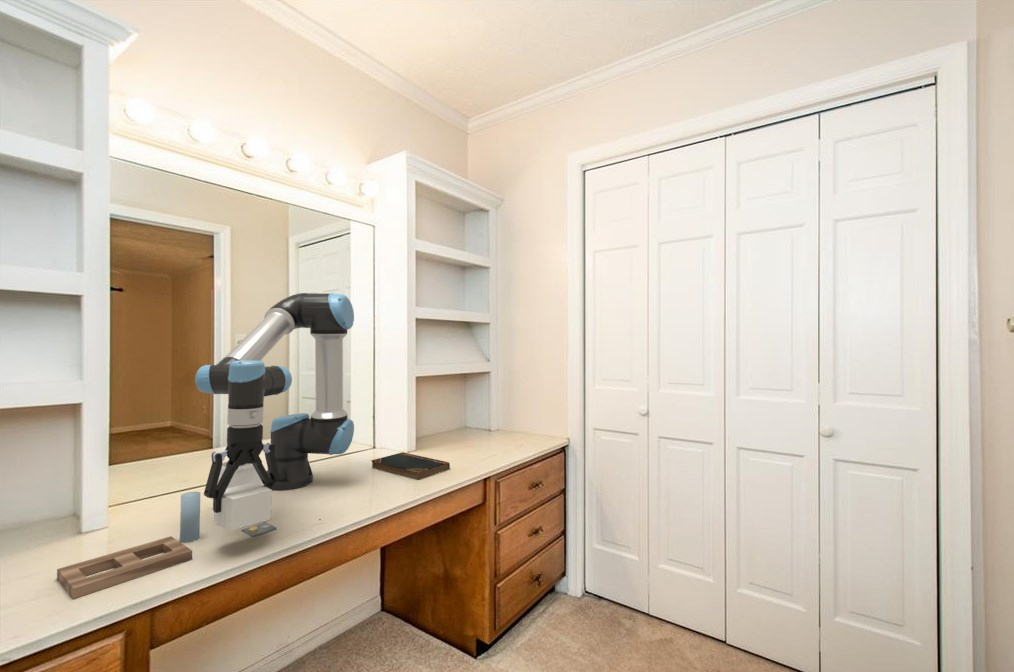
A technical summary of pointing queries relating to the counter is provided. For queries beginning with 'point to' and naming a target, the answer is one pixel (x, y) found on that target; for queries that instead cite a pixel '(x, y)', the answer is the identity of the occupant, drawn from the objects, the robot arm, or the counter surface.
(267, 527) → the tile
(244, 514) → the cover
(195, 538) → the peg
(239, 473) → the jar
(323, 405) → the robot arm
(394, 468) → the book
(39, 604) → the counter surface
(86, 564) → the socket board
